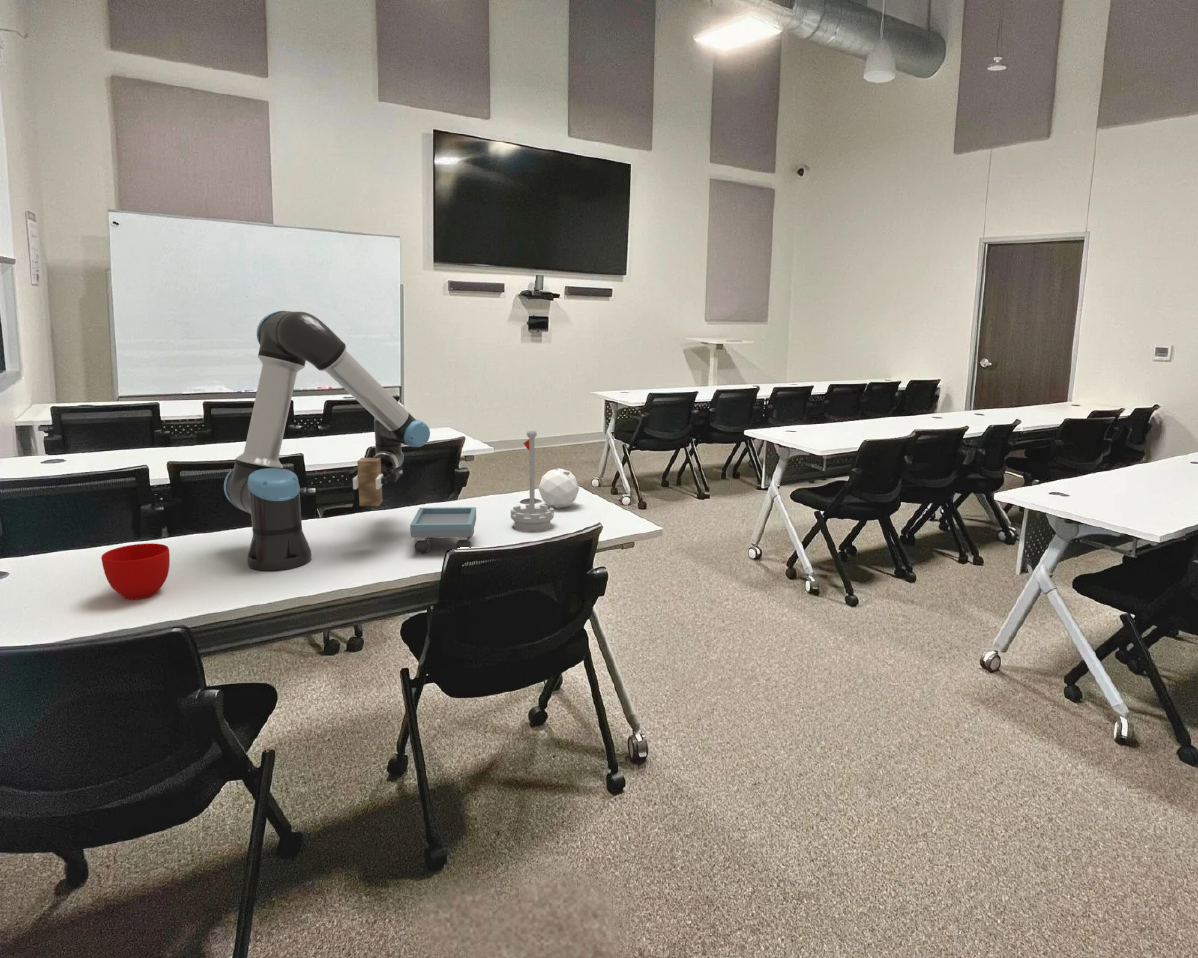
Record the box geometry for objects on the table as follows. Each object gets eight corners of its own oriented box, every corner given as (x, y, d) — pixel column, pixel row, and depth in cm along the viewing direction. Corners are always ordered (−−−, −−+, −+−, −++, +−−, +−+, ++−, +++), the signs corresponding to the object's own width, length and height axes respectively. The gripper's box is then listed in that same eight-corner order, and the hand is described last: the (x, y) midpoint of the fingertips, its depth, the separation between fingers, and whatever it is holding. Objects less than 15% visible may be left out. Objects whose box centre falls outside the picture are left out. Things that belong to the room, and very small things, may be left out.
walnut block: (359, 506, 197) (357, 461, 194) (363, 501, 201) (361, 457, 199) (379, 505, 197) (377, 461, 194) (382, 501, 202) (380, 457, 199)
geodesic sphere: (595, 490, 250) (575, 455, 252) (574, 498, 239) (552, 462, 240) (567, 510, 258) (547, 477, 259) (544, 519, 246) (523, 484, 248)
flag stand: (561, 528, 226) (562, 430, 219) (523, 534, 219) (523, 433, 212) (540, 518, 236) (539, 424, 230) (503, 524, 229) (502, 427, 223)
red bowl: (160, 575, 181) (156, 536, 179) (180, 595, 169) (175, 553, 167) (97, 588, 172) (92, 546, 170) (113, 609, 160) (108, 565, 158)
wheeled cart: (411, 555, 198) (410, 525, 196) (420, 536, 216) (419, 507, 214) (472, 554, 200) (471, 524, 198) (476, 535, 217) (476, 507, 215)
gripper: (415, 479, 217) (402, 498, 194) (351, 479, 215) (330, 498, 193) (414, 453, 215) (401, 470, 193) (350, 453, 214) (329, 469, 191)
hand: (365, 484), depth 193 cm, fingers closed on walnut block, 5 cm apart
